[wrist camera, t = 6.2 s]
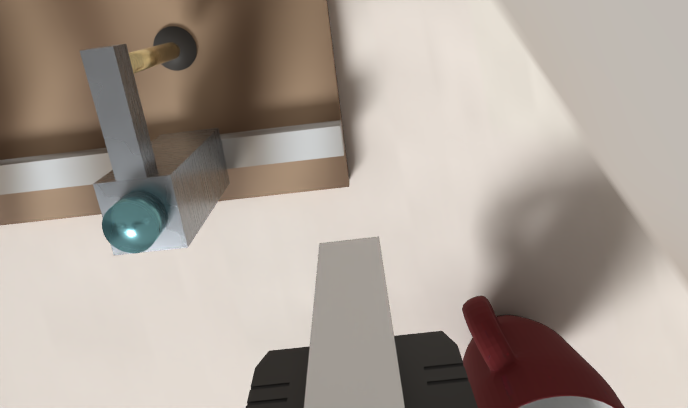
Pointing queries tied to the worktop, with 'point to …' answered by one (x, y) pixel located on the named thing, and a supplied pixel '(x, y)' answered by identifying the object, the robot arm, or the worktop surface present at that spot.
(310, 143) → the brown wooden board
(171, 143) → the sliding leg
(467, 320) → the mug
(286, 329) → the worktop surface
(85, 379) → the worktop surface
